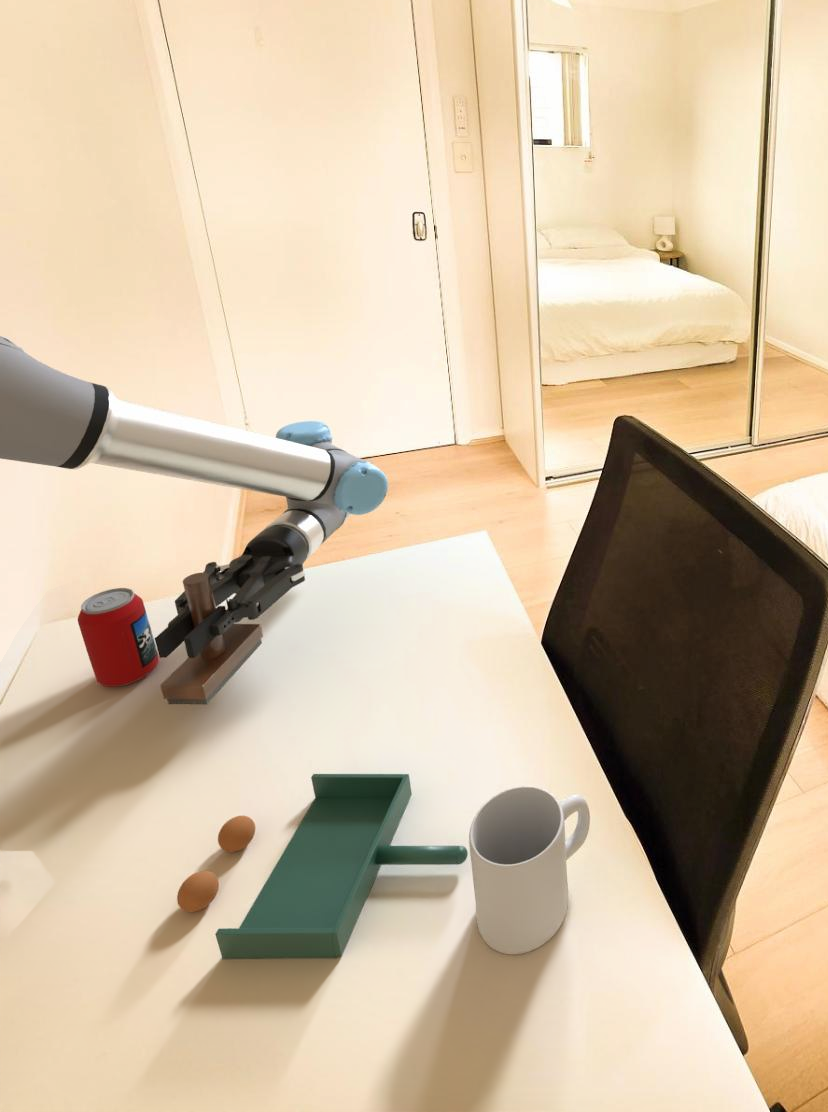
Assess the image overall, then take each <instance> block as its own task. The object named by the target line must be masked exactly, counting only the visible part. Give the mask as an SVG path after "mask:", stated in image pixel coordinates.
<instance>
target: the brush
mask: <svg viewBox="0 0 828 1112" xmlns="http://www.w3.org/2000/svg"><path fill="white" fill-rule="evenodd" d="M182 585H183V589H184V591H185V593H186V597H187V601H188V606H189V610H190V614H191V618H192V622H193V626H194V628H196V627H197V626H198V625H199V624H200V623H201V622H202V621H203V620H204V619H205V618H206V617H207V616H208V615H210V614H211V613H212V612H213V611H214V610H215V609H216V608H217V607H216V605H215V601H214V596H213V592H212V588H211V583H210V579H209V575H208V574H207V573H203V572H196V573H193V574H190V575H188V576H186V577H184V578H183V580H182ZM263 635H264V634H263V630H262V624H261V623H234V624H233V625H232V626H231V627H230V628H229V629H228V630H227V631H226V632H225V633H223V634H222V635H220V636H216V637H215V638H214V639H213V640H212V641H211V642H210V643H209V644H208V645H207V646H206V647H205V648H204V649H203V650H202V651H201V652H200V653H199V654H198V655H197V656H196V657H195V658H188V657H187V659H186V660H185V661H183V662H182V663H181V664H180V665H179V666H178V667H177V668H176V669H175V670H174V671H173V672H172V673H171V674H170V675H169V676H168V677H167V678H166V679H165V680H164V681H163V682H162V683H161V684H160V685H159V688H160V691H161V695H162V698H163V700H166V701H167V704H168V705H190V706H191V705H194V706H195V705H196V706H197V705H198V706H199V705H200V706H201V705H204V706H206V705H208V704H209V703H210V702H211V701H212V699H214V697H215V696H216V695H217V694H218V693H219V692H220V691H221V689H222V688H223V687H224V686H225V685H226V684H227V683H228V682H229V681H230V680H231V679H232V677H233V676H234V675H235V674H236V673H237V672H238V670H240V668H241V667H242V666H243V665H244V664H245V663H246V662H247V661H248V660H249V658H250V657H251V656H252V655H253V654H254V653H255V651H257V650H258V648H259V647H261V645H262V644H263V642H262V638H264V636H263Z"/></svg>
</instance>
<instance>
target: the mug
mask: <svg viewBox="0 0 828 1112" xmlns="http://www.w3.org/2000/svg"><path fill="white" fill-rule="evenodd" d="M574 813H577V823H576V826H575V827H574V831H573V832H572V834H570V836H568V837H567V838H566V827H565V826H566V825H565V821H566V820H567V819H568V818H569V817H570V816H571V815H573V814H574ZM590 813H591V812H590V807H589V805H588V802H587V800H586V799H585V798H584V796H582V795H581V794H578V793H577V794H575V793H574V794H571V795H569V796H567V797H565V798H564V799H562V800H561V801H559V800H558V798H557V797H556V796H555V795H554V794H553V793H551V792H550V791H548V790H546V789H544V788H541V787H539V786H532V785H520V786H515V787H511V788H508V789H505V790H502V791H501V792H499V793H497V794H495V795H493V796H492V797H490V798H489V799H488V800H487V801H486V802H484V804H483V805H482V806H481V807H480V808H479V810H477V812H476V814H475V815H474V817H473V819H472V821H471V825H470V827H469V833H468V845H469V853H470V863H471V873H472V874H471V875H472V882H473V891H474V900H475V901H474V902H475V916H476V923H477V928H478V931H479V934H480V936H481V938H482V940H483V941H484V942H485V944H487V946H488V947H489V948H491V949H493V950H494V951H496V952H499V953H501V954H505V955H522V954H526V953H529V952H532V951H534V950H537V949H538V948H540V947H542V946H543V945H545V944H546V943H547V942H548V941H550V939H552V938H553V937H554V935H555V934H556V933H557V932H558V931H559V929H560V927H561V926H562V924H563V922H564V920H565V917H566V916H567V915H566V914H567V911H568V905H569V884H568V870H567V869H568V867H567V860H569V859H570V858H571V857H572V856H573V855H574V854H576V853H577V852H578V851H579V850H580V849H581V847H583V845H584V843H585V841H586V840H587V837H588V834H589V831H590V825H591V824H590V823H591V815H590Z"/></svg>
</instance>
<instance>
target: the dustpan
mask: <svg viewBox="0 0 828 1112" xmlns="http://www.w3.org/2000/svg"><path fill="white" fill-rule="evenodd" d="M310 778H311V779H310V780H311V784H312V788H313V792H314V799H313V801H312V803H311V805H310V806H309V808H308V809H307V811H306V813H305V814H304V817H303V818H302V820H301V821H300V823H299V825H298V827H297V829H296V830H295V832H294V833H293V835H292V837H291V839H290V840H289V842H288V843H287V845H286V847H285V848H284V851H283V852H282V853H281V855H280V857H279V859H278V861H277V863H276V865H275V866H274V868H273V869H272V871H271V873H270V874H269V876H268V877H267V880H266V881H265V883H264V885H263V886H262V888H261V889H260V891H259V892H258V893H259V894H258V895H257V897H256V898H255V900H254V902H252V905H251V907H250V909H249V910H248V912H247V914H246V915H245V917H244V919H243V921H242V922H241V924H240V926H239V927H238V928H237V927H236V928H217V930H216V932H215V933H214V935H215V939H216V941H217V945H218V949H219V951H220V956H221V959H222V960H257V959H258V960H261V959H266V960H267V959H276V960H277V959H337V958H338V957H342V956H343V953H344V951H345V949H346V947H347V945H348V942H349V941H350V938H351V935H352V933H353V931H354V929H355V926H356V924H357V922H358V919H359V917H360V914H361V912H362V910H363V909H364V906H365V903H366V901H367V899H368V896H369V894H370V892H371V889H372V886H373V884H374V883H375V880H376V877H377V875H378V873H379V871H380V868H381V866H394V865H395V866H402V865H403V866H404V865H405V866H415V865H417V866H419V865H420V866H425V865H426V866H429V865H434V866H439V865H440V866H441V865H442V866H445V865H446V866H447V865H448V866H449V865H452V866H453V865H462V864H463V863H465V862H466V860H467V859H468V857H469V856H468V854H469V852H468V849H467V847H466V846H464V845H391V843H392V840H393V838H394V836H395V834H396V832H397V829H398V827H399V826H400V825H399V824H400V822H401V820H402V818H403V815H404V813H405V811H406V809H407V806H408V804H409V801H410V799H411V797H412V795H413V794H412V786H411V779H410V774H409V773H312V775H311V777H310Z"/></svg>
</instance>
